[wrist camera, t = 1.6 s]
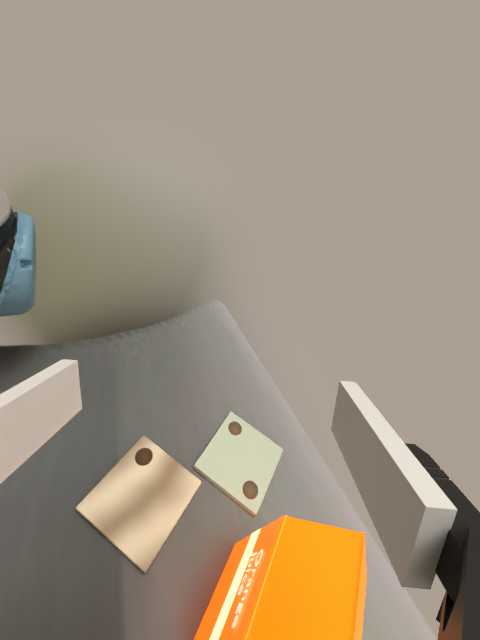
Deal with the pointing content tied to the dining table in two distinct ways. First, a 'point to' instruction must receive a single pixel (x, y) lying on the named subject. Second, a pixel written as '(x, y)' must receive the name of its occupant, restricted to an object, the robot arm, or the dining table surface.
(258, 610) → the orange juice
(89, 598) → the dining table surface
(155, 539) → the tile one
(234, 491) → the tile two
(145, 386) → the dining table surface
